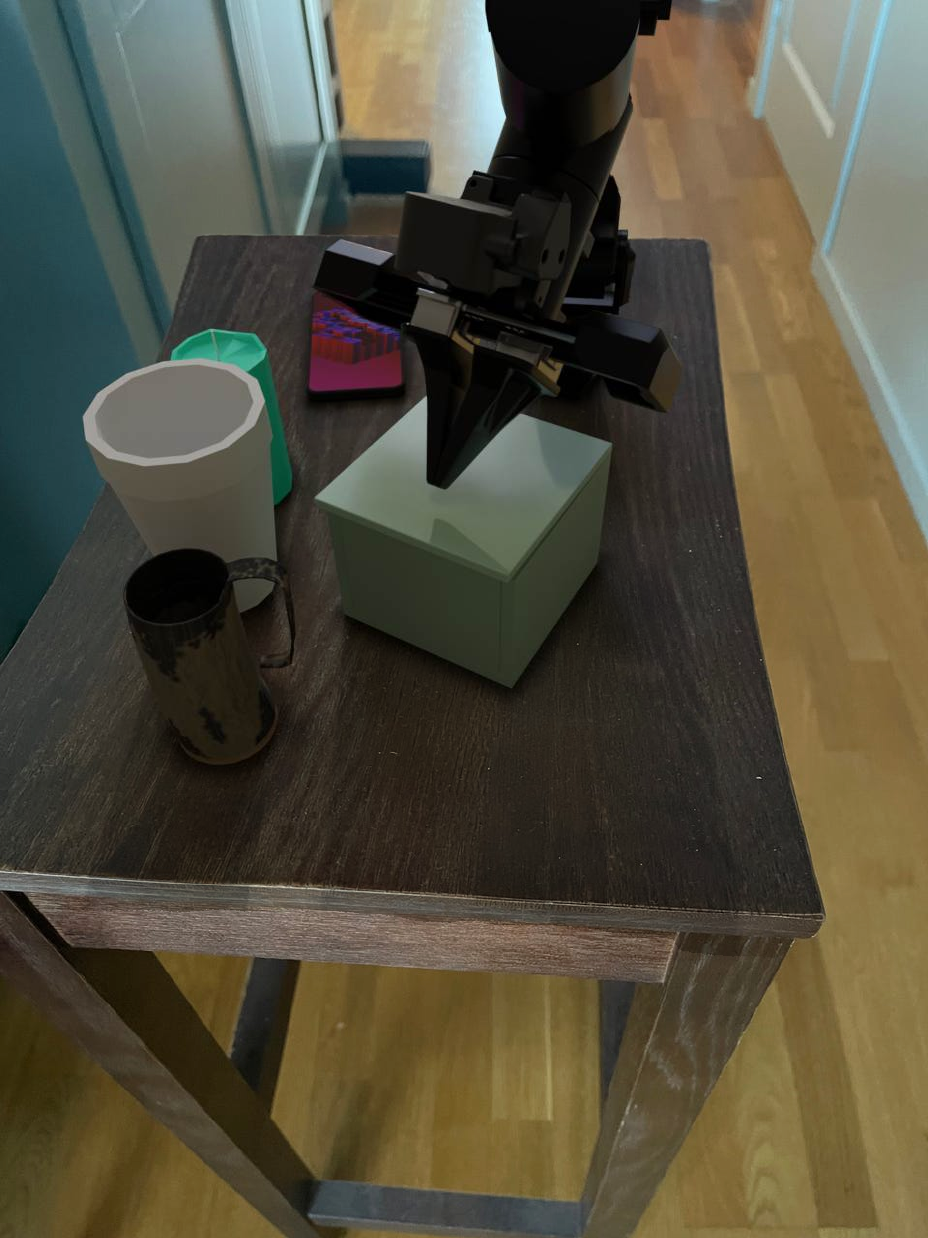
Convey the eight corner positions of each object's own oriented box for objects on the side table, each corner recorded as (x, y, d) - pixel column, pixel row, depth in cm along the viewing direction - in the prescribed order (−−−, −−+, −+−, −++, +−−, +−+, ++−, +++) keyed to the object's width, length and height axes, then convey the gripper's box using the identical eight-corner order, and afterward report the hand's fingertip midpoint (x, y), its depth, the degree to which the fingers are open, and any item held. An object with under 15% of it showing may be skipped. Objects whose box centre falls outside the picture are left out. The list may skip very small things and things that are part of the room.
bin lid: (507, 584, 44) (508, 575, 44) (314, 506, 48) (313, 497, 48) (611, 451, 52) (612, 443, 51) (436, 394, 56) (436, 385, 55)
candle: (276, 518, 62) (240, 363, 53) (193, 508, 63) (144, 353, 54) (304, 462, 66) (275, 309, 57) (225, 453, 66) (185, 301, 57)
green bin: (511, 689, 52) (515, 581, 45) (344, 614, 56) (324, 505, 49) (597, 562, 58) (611, 452, 52) (442, 503, 62) (436, 394, 56)
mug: (166, 768, 49) (94, 619, 40) (182, 685, 52) (119, 532, 43) (315, 760, 49) (276, 610, 40) (320, 678, 53) (286, 524, 44)
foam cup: (326, 547, 60) (294, 375, 50) (260, 651, 54) (209, 480, 44) (198, 516, 62) (144, 347, 52) (122, 614, 56) (45, 443, 46)
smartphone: (304, 393, 70) (310, 290, 79) (306, 403, 70) (312, 300, 80) (406, 387, 70) (399, 285, 80) (407, 397, 71) (400, 295, 80)
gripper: (304, 62, 41) (198, 400, 43) (703, 143, 34) (554, 535, 36) (411, 175, 51) (321, 442, 53) (733, 253, 45) (615, 553, 47)
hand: (436, 486), depth 47 cm, fingers closed
